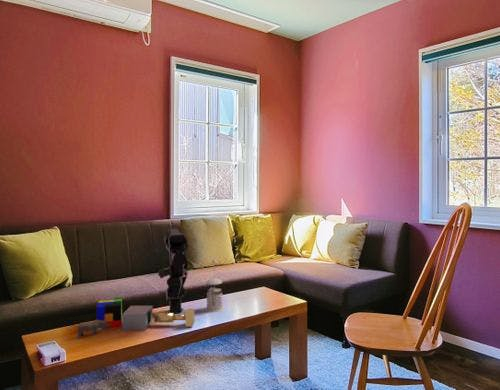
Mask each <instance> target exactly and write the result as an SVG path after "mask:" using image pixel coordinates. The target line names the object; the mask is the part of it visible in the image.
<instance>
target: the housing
mask: <svg viewBox="0 0 500 390" xmlns="http://www.w3.org/2000/svg"><path fill="white" fill-rule="evenodd" d="M153 314H154V313H153V305H130V306H129V307H128V308H127V309H126V310H125V311H124V312H122V324H121V328H122V331H146V330H147V329H148V327H149V326H150V325H151V324H152V322H153V321H154V319H153V318H154V317H153Z"/></svg>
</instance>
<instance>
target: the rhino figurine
mask: <svg viewBox="0 0 500 390" xmlns="http://www.w3.org/2000/svg"><path fill="white" fill-rule="evenodd" d="M104 321H105V319H104V320H103V321H101V320H97V319H95V320H93V321H85V322H81V323H79V324H78V326H77V331H78V332H77V334H76V335H77V336H76V338H77V339H82V337H84V336H85V334H84V332H86V333H91V332H92V334H91V335H92V336H95V337H96V336H97V331H98V330H97V329H98V328H101V330H103V331H107V330H108V329H107V328H108V327H109V326H110V325H111V323H110V324H109V325H107V324H105V323H106V322H104Z"/></svg>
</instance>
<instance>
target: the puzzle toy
mask: <svg viewBox="0 0 500 390" xmlns="http://www.w3.org/2000/svg"><path fill="white" fill-rule="evenodd" d="M122 302H123V299H122V298H119V299H118V298H116V299H104V300H103V299H101V300H98V303H97V304H96V320H101V321H103V320H104V319H105V321H104V322H106V323H105V324H107V325H109V324H110V323H111V325H110V326H109V327H108V328H107V330H109V329H118V328H119V329H120V328H122V314H123V303H122ZM100 330H102V329H101V328H98V329H97V330H96V331H100Z"/></svg>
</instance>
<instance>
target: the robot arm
mask: <svg viewBox="0 0 500 390" xmlns="http://www.w3.org/2000/svg"><path fill="white" fill-rule="evenodd" d="M164 245H165V247H166V250H167V251H168V253H169V266H168V267H166V268H165V267H164V268H161V269H159V271H158V277H159V278H160V279H164V278H165V277H168V276H169V277H168V278H167V279H166V285H167V288H166V297H165V298H166V302H169V309H168V311H167V313H174V314H182V312H183V310H184V308H182V300H183V301H185V299H186V291H187V290H186V289H185V287H184V286H185V282H186V280H187V279H188V275H189V273H188V270H187V269H185V265H186V262H187V257H186V255H185V251H187V250H188V248H189V246H188V239H187V237H186V236H185V234H184V233H181V232H180V228H178V227H170V228H168V231H167V232H166V233H164Z"/></svg>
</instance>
